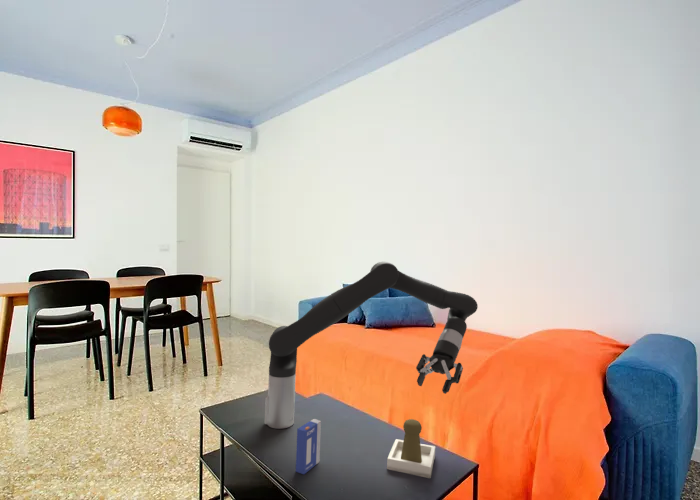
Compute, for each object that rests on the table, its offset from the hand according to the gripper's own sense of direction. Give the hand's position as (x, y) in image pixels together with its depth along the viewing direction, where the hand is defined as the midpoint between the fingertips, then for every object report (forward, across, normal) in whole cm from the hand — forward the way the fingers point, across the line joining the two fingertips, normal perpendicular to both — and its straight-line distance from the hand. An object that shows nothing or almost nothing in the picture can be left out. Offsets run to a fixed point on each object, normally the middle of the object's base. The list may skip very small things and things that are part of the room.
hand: (431, 388), depth 120 cm
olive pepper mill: (+21, 0, +4) cm, 21 cm away
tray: (+21, +1, +4) cm, 22 cm away
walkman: (+37, -20, -11) cm, 43 cm away
